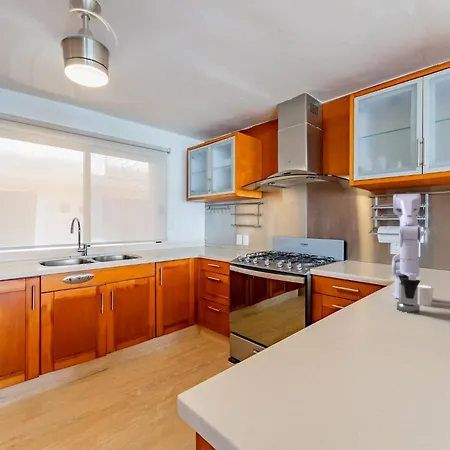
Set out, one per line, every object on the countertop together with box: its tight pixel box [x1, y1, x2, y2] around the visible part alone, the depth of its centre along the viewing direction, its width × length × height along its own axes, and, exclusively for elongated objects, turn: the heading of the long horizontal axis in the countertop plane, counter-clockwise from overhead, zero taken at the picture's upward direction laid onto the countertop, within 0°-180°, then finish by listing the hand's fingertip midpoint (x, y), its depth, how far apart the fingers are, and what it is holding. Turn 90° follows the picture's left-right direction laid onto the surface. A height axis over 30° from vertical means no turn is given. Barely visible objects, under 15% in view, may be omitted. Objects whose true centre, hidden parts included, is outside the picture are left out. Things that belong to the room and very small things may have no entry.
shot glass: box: [418, 284, 434, 307], centre depth 116 cm, size 7×7×7 cm
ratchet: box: [396, 299, 421, 314], centre depth 110 cm, size 14×7×5 cm, turn 157°
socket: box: [398, 283, 418, 304], centre depth 107 cm, size 5×5×6 cm
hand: (408, 296), depth 107 cm, fingers closed on socket, 5 cm apart
